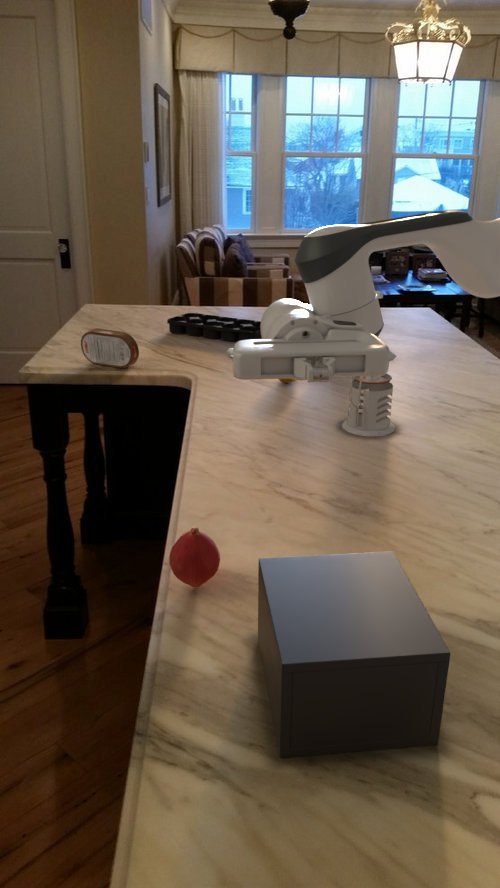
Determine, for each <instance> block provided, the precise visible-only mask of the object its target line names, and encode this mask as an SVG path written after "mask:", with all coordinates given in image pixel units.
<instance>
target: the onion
mask: <svg viewBox="0 0 500 888" xmlns="http://www.w3.org/2000/svg"><path fill="white" fill-rule="evenodd" d="M169 552H170V554H169V557H168V561H169V566H170V569H171V571H172V574H173V575H174V576H175V578H176V579H177V580H179V581H180V582H182V583H183V584H185V585H188V586H190V587H191V588H194V589H198V588H200V587H202V586H203V585H204V584H206V583H207V582H208V581H209V580H211V579H212V578H213V577H215V575H216V573H217V572H218V570H219V568H220V563H221V553H220V550H219V548H218V546H217V544H216V542H215V541H214V539H213V538H212V537H210V536H209V535H208V534H206V533H205V532H203V531H200V529H199V527H198V526H192V527H191V529H189V530H187V531H186V532H184V533H183V534H181V535H180V536H179V537H178V538H177V540H176V541H175V543H174V544H173V545H172V547H171V549H170V551H169Z"/></svg>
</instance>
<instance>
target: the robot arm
mask: <svg viewBox="0 0 500 888" xmlns="http://www.w3.org/2000/svg"><path fill="white" fill-rule="evenodd" d="M414 245H424V246H426V247H427V248H429V249H430V250H431V251H432V252H433V254H434V255H435V256H436V257H437V259H438V260H439V262H440V263H441V265H442V266H443V268H444V270H445V271H446V273H447V274H448V276H449V277H450V278H451V279H452V281H454V283H455V284H456V285H457V286H458V287H460V288H461V289H462V290H463V291H465V292H466V293H468V294H470V295H472V296H473V297H477V298H481V299H482V298H483V299H493V298H497V297H500V217H498V218H496V219H492V220H485V221H483V220H476V219H474V218H473V217H472V216H471V215H470V214H469V213H468V212H467V211H464V210H439V211H432V212H423V213H418V214H417V213H416V214H412V215H404V216H398V217H394V218H387V219H382V220H375V221H369V222H362V223H355V224H333V225H326V226H322V227H319V228H316V229H314V230H312V231H311V232H309V233H307V234H305V235H304V237H303V238H302V240H301V242H300V243H299V245H298V248H297V251H296V253H295V257H294V263H295V265H296V268H297V271H298V273H299V276H300V278H301V281H302V282H303V284H304V287H305V291H306V294H307V297H308V300H309V304H308V303H303V302H301V301H300V300H297V299H294V298H280V299H278V300H274V302H272V303H270V305H268V306H267V307H266V308H265V310H264V312H263V313H262V316H261V319H260V321H261V326H260V330H261V337H262V339H250V340H241V341H240V340H239V341H236V342H235V343H234V345H233V347H229V348H228V349H227V350H226V354H227V356H228V358H229V359H230V360H232V372H233V373H232V374H233V377H234V378H235V379H237V380H241V381H245V380H246V381H248V380H252V381H253V380H279V379H286V378H290V379H293V380H296V381H307V382H308V383H331V382H333V378H345V377H346V378H347V377H352V376H382V375H385V374H386V373H387V374H388V372H389V367H390V361H389V358H390V351H389V350H390V348H389V346H388V345H387V343H385V342H384V340H383V339H381V338H379V336H380V335H381V333H382V331H383V329H384V326H385V322H384V318H383V314H382V309H381V306H380V305H381V304H380V301H379V299H378V297H377V295H376V292H375V291H376V288H375V284H374V280H373V275H372V272H371V268H370V264H369V260H370V256H371V254H372V253H374V252H379V251H387V250H391V249H397V248H403V247H409V246H414Z"/></svg>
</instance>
